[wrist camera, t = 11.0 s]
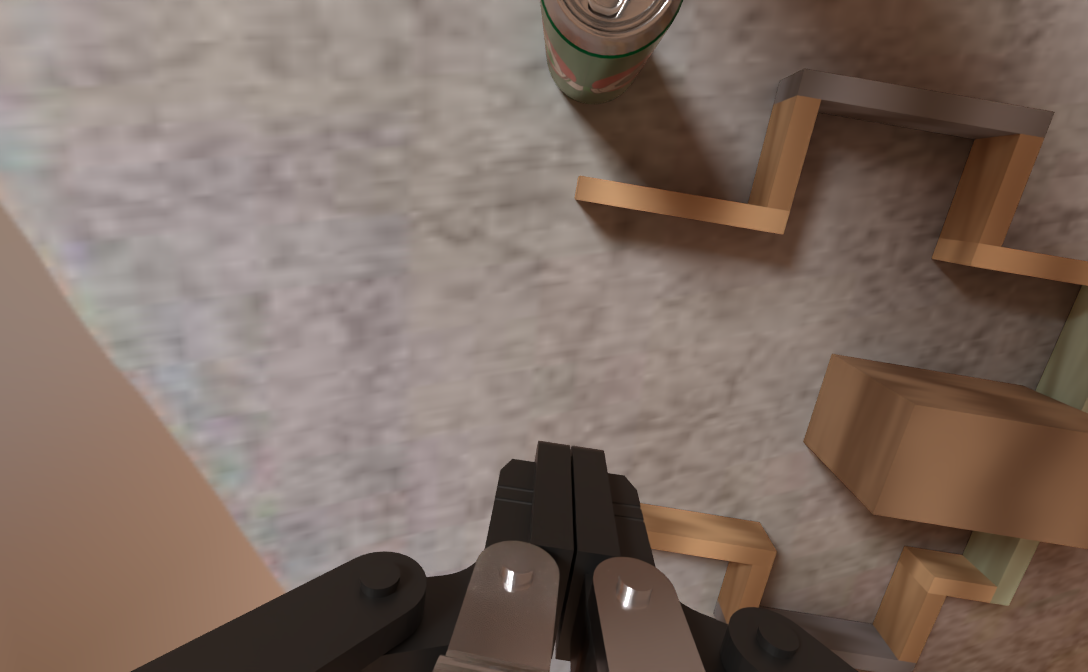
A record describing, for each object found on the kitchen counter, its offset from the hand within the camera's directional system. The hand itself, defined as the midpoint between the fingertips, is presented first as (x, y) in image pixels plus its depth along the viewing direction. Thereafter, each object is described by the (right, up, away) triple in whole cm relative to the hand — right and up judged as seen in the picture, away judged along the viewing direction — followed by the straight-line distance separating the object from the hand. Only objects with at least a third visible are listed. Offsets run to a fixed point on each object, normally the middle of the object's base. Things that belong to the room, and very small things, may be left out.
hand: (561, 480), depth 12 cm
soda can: (+2, +18, +17) cm, 25 cm away
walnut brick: (+23, -2, +21) cm, 31 cm away
